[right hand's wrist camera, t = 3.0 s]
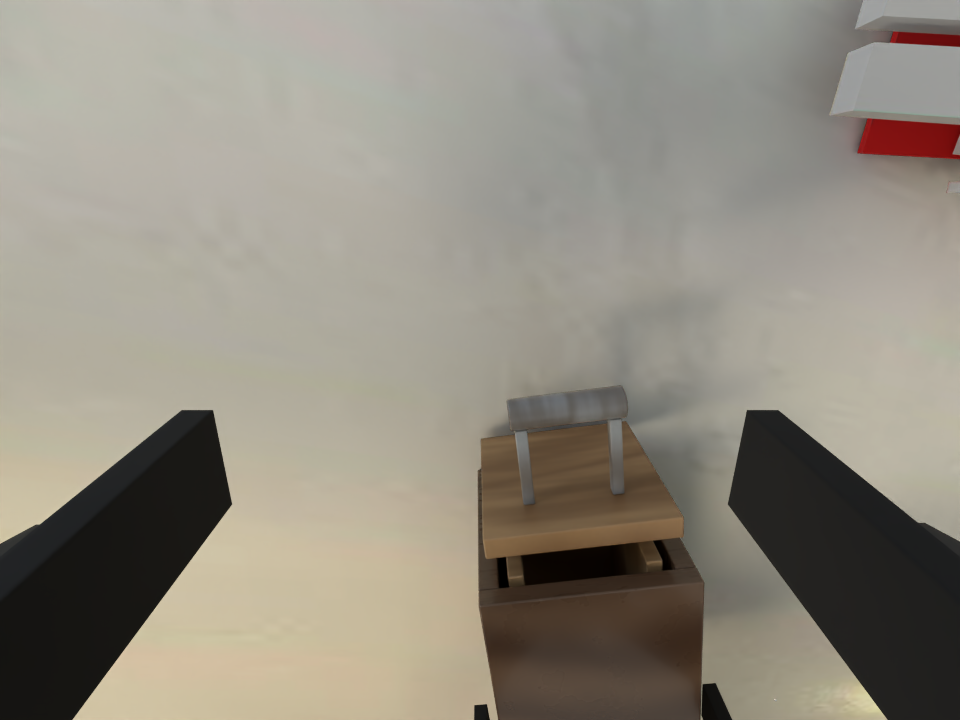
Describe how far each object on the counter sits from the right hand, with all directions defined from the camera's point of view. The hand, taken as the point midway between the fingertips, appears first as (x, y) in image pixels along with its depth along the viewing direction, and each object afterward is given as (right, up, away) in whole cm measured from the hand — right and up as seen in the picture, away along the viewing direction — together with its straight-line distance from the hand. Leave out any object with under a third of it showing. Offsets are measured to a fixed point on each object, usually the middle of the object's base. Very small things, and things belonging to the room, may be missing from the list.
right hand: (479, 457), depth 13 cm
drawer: (+5, -6, +22) cm, 24 cm away
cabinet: (+6, -12, +25) cm, 29 cm away
